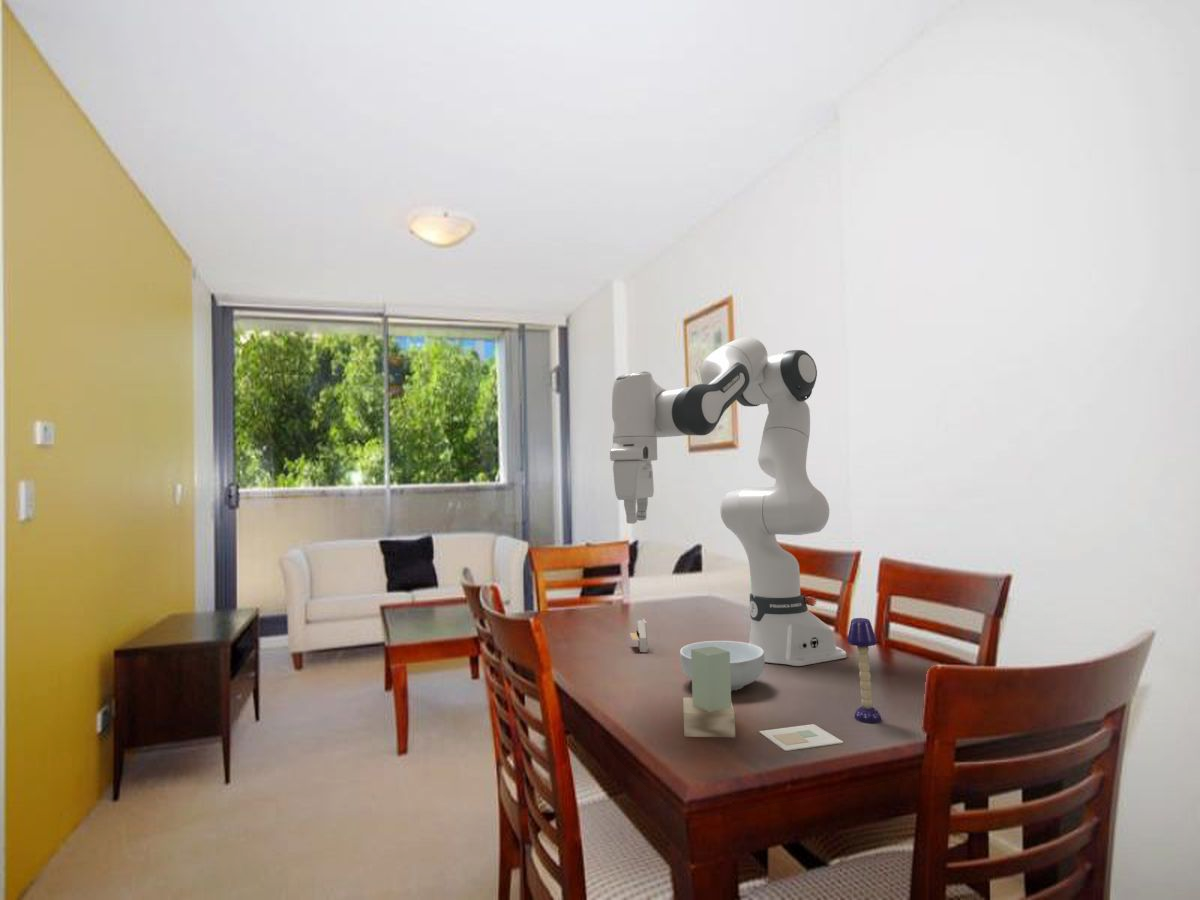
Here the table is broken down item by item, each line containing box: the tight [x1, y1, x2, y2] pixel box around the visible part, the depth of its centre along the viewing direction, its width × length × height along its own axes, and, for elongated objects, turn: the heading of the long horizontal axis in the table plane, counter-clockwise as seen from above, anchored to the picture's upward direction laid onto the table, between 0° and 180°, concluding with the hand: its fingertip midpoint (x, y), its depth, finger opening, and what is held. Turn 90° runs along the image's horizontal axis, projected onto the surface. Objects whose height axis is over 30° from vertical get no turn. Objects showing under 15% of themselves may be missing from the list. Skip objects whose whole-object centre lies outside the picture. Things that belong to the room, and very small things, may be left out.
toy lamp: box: [847, 617, 882, 724], centre depth 114 cm, size 5×5×17 cm
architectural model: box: [629, 618, 649, 653], centre depth 165 cm, size 3×7×7 cm, turn 4°
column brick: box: [691, 646, 732, 712], centre depth 111 cm, size 4×4×9 cm
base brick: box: [682, 697, 736, 738], centre depth 111 cm, size 8×8×4 cm
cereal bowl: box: [679, 640, 765, 692], centre depth 134 cm, size 17×17×7 cm
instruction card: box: [758, 723, 844, 752], centre depth 106 cm, size 10×8×1 cm
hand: (636, 521), depth 133 cm, fingers open, 8 cm apart
